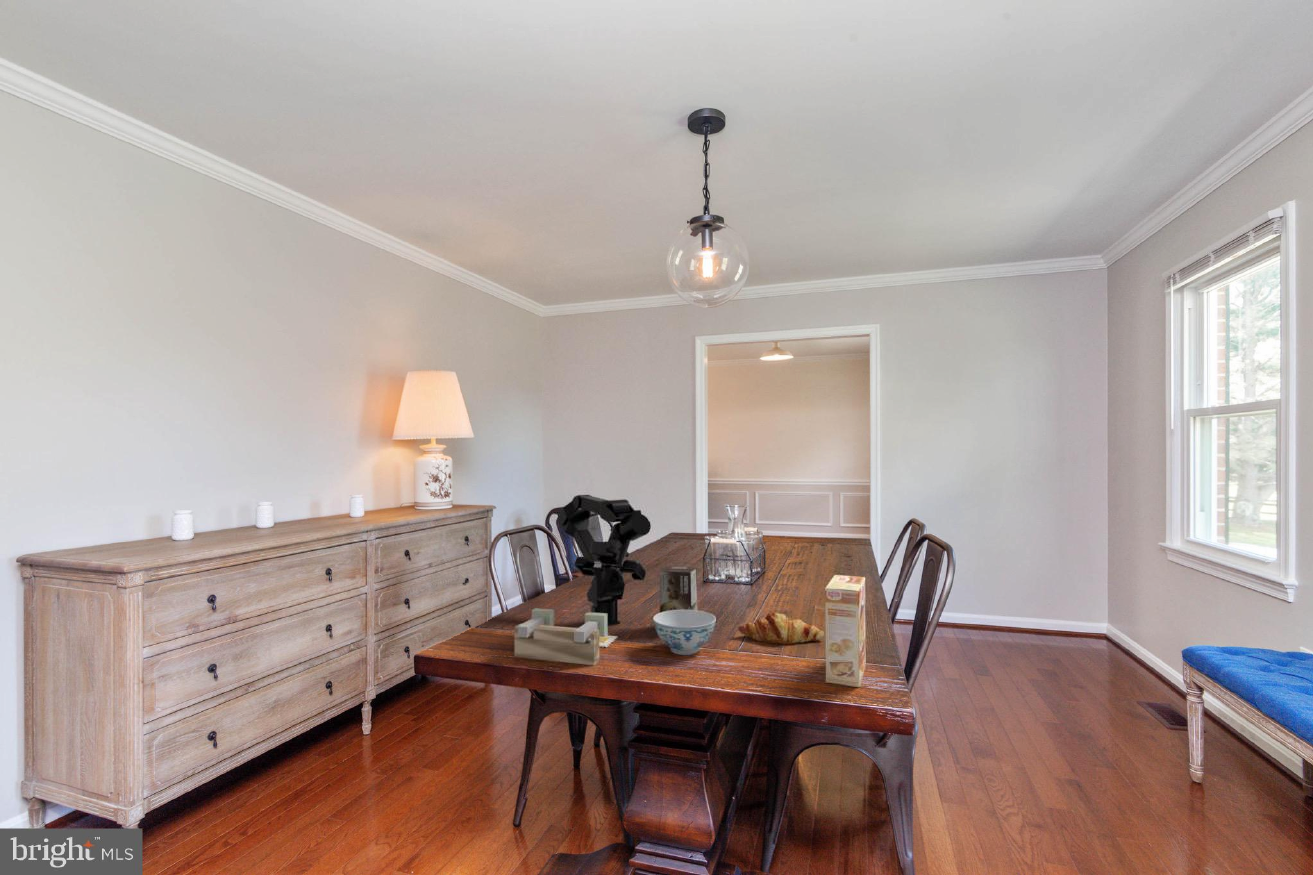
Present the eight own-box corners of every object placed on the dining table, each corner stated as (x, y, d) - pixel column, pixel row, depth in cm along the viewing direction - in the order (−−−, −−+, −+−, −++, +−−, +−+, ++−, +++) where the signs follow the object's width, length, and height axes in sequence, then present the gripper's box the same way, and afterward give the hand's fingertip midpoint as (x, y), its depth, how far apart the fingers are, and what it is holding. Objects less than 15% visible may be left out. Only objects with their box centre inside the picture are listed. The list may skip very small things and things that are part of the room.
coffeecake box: (860, 688, 125) (859, 590, 125) (824, 682, 128) (823, 587, 128) (867, 663, 139) (866, 576, 139) (834, 659, 142) (833, 573, 142)
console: (521, 652, 148) (520, 623, 148) (599, 660, 142) (599, 629, 142) (514, 657, 145) (514, 626, 145) (594, 665, 139) (594, 633, 139)
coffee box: (698, 627, 168) (698, 567, 168) (692, 634, 162) (691, 571, 162) (666, 624, 171) (665, 565, 171) (658, 631, 164) (658, 569, 165)
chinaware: (676, 665, 139) (675, 630, 139) (641, 647, 151) (641, 615, 152) (729, 653, 147) (728, 620, 147) (692, 636, 159) (691, 606, 160)
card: (574, 634, 162) (574, 631, 162) (617, 637, 159) (617, 635, 159) (560, 643, 155) (560, 641, 155) (605, 647, 151) (605, 645, 151)
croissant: (822, 651, 158) (820, 619, 162) (827, 643, 149) (825, 610, 153) (738, 646, 161) (738, 615, 165) (738, 638, 152) (738, 606, 156)
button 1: (535, 628, 154) (535, 608, 154) (554, 630, 152) (553, 609, 153) (512, 642, 143) (512, 620, 143) (532, 643, 142) (532, 621, 142)
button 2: (588, 632, 150) (588, 612, 150) (607, 634, 148) (607, 613, 149) (568, 647, 139) (568, 624, 139) (589, 649, 138) (589, 626, 138)
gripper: (574, 526, 163) (552, 579, 154) (637, 528, 155) (617, 585, 145) (593, 548, 171) (573, 600, 161) (653, 552, 162) (636, 607, 153)
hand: (598, 598), depth 155 cm, fingers closed
